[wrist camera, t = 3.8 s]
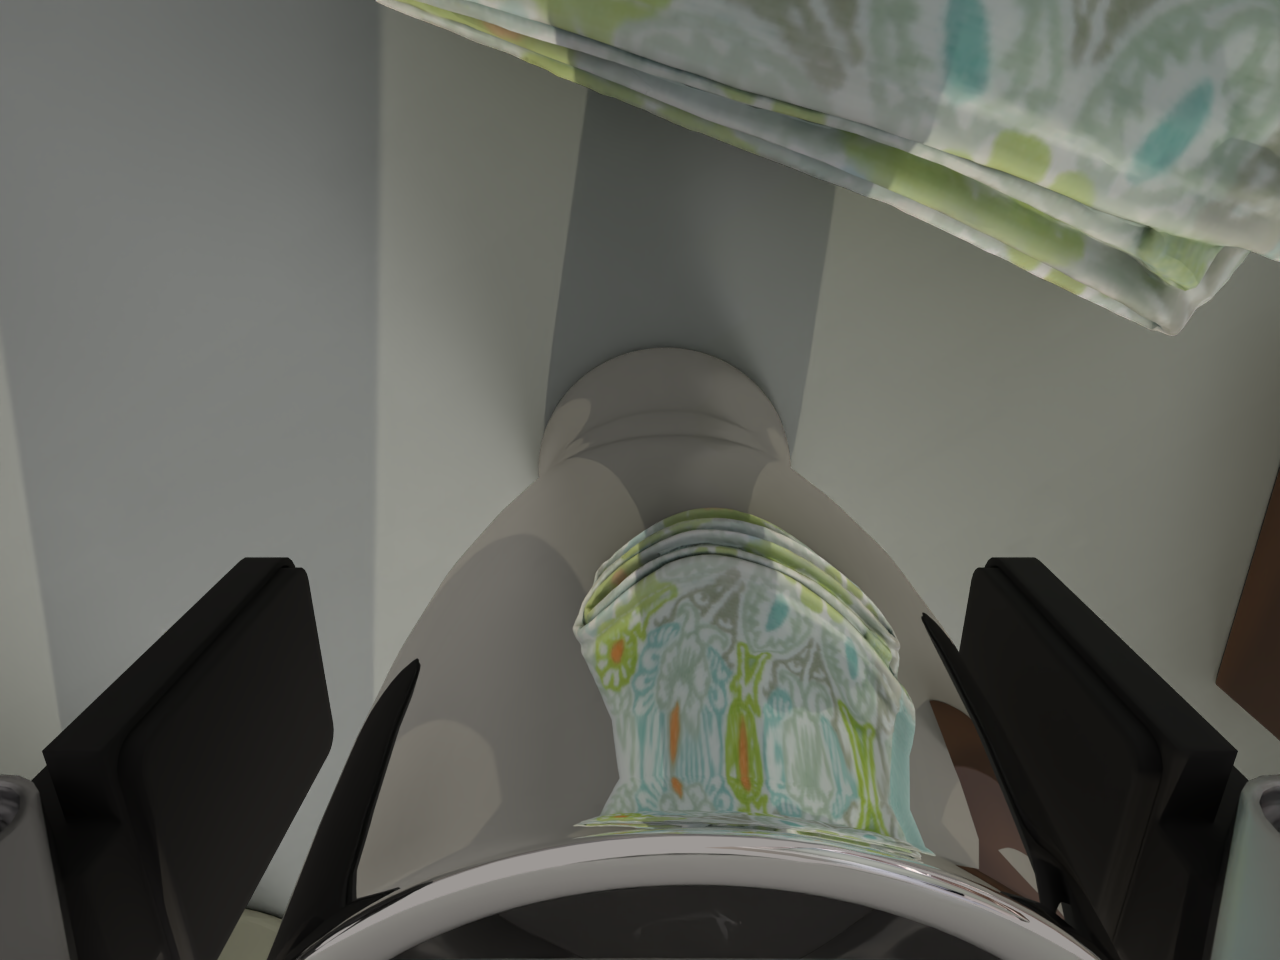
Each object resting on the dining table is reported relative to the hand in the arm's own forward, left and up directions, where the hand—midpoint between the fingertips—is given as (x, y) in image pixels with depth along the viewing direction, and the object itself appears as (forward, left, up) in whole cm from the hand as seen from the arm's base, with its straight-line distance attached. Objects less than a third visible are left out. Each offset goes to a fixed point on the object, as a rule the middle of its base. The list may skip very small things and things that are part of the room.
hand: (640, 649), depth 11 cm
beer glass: (0, 0, -9) cm, 9 cm away
